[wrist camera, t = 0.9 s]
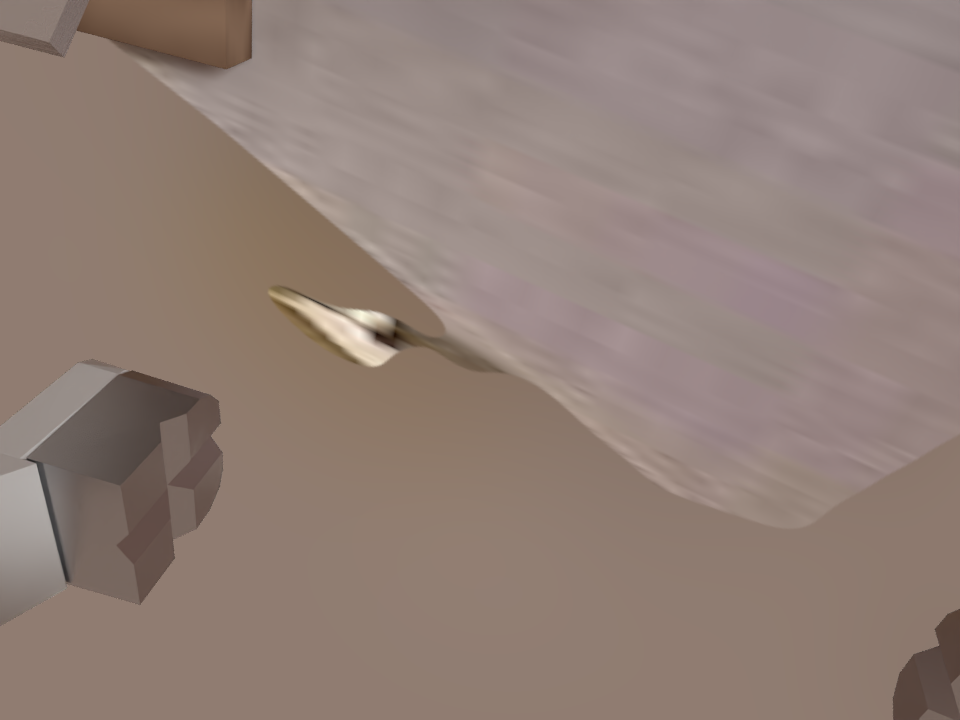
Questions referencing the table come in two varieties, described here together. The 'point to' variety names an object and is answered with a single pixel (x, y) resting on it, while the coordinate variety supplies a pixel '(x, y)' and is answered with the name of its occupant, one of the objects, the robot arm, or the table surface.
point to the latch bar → (41, 23)
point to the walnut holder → (177, 27)
